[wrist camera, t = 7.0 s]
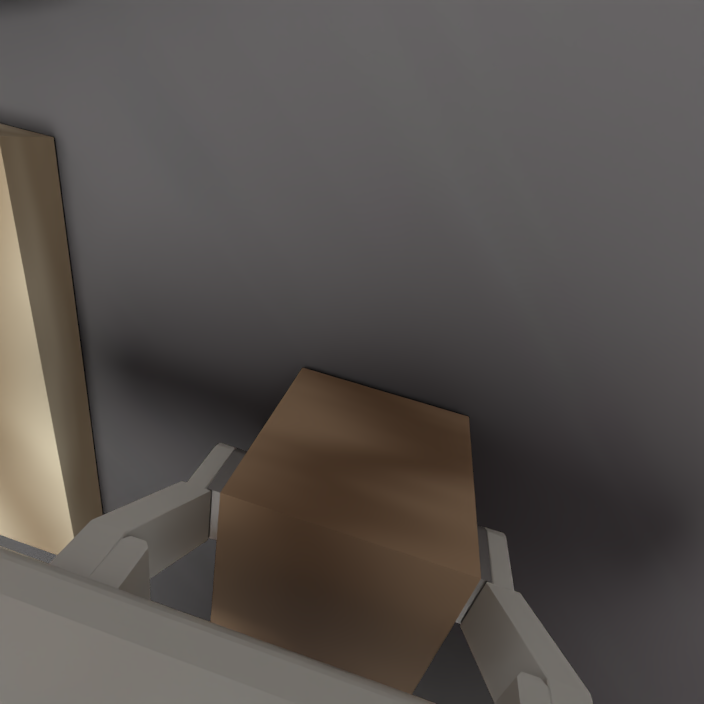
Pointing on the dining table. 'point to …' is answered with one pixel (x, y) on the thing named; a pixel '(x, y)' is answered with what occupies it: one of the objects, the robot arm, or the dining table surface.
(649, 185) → the dining table surface
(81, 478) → the metal holder wooden base
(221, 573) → the walnut cube
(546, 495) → the dining table surface
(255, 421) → the dining table surface
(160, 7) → the dining table surface
